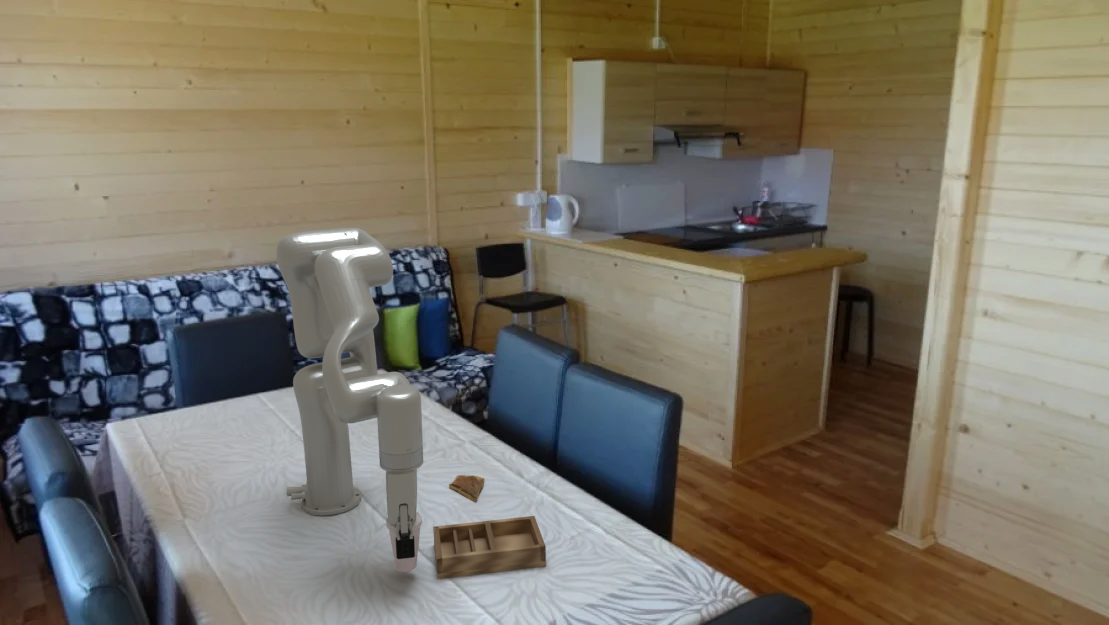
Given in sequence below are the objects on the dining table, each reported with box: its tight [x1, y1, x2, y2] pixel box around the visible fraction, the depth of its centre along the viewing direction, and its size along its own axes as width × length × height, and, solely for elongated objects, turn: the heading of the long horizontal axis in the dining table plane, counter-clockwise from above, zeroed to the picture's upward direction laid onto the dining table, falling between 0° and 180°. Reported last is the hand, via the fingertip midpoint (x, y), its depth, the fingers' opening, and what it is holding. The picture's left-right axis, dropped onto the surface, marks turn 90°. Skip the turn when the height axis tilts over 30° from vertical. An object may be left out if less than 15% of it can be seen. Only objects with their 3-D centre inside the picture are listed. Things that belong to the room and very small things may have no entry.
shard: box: [448, 474, 485, 503], centre depth 178 cm, size 11×8×2 cm
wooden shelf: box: [432, 515, 547, 580], centre depth 151 cm, size 20×12×4 cm, turn 101°
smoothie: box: [385, 505, 423, 573], centre depth 142 cm, size 6×6×14 cm
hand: (405, 545), depth 143 cm, fingers closed on smoothie, 6 cm apart
